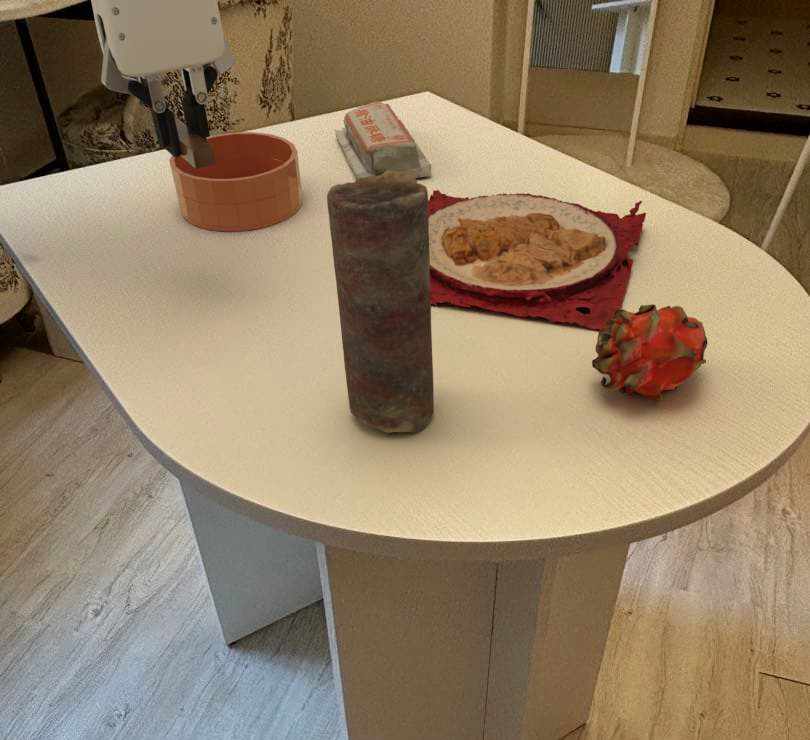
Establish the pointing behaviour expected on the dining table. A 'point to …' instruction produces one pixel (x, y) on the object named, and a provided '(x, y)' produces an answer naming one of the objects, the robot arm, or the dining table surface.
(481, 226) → the plate with food
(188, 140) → the brown wooden bar
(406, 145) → the packaged product
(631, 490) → the dining table surface
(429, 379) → the candle
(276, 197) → the bowl
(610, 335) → the dragon fruit
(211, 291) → the dining table surface
